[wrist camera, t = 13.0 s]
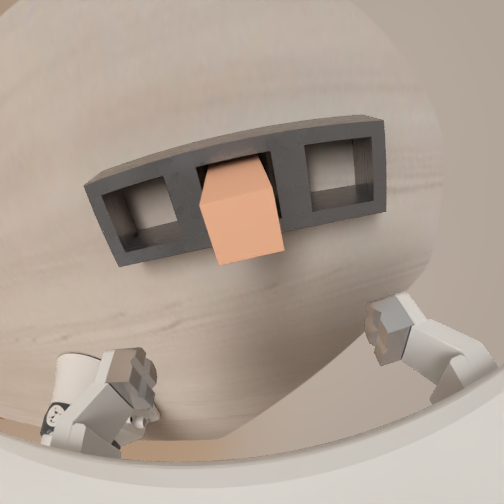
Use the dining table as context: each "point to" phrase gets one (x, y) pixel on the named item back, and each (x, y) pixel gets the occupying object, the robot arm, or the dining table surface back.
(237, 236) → the peg
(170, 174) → the rail
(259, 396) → the dining table surface
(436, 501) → the robot arm
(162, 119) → the dining table surface
